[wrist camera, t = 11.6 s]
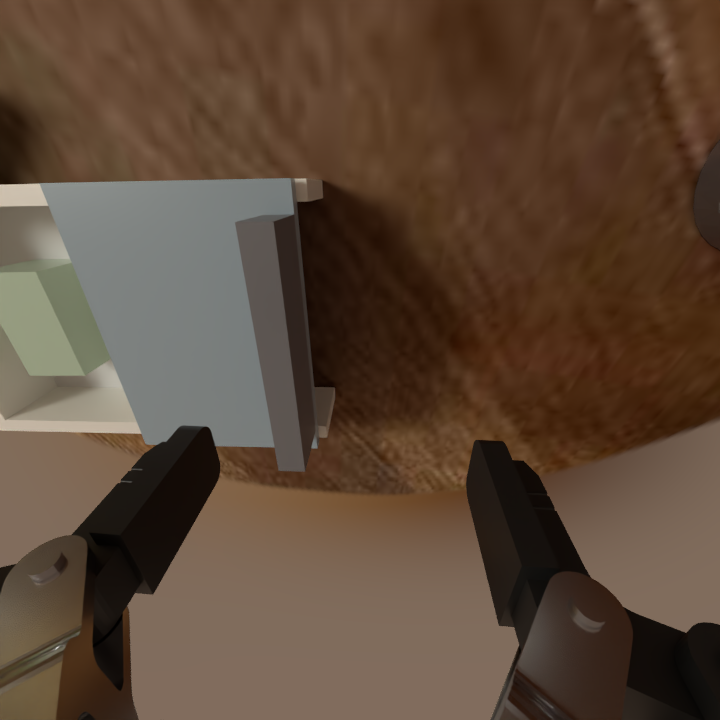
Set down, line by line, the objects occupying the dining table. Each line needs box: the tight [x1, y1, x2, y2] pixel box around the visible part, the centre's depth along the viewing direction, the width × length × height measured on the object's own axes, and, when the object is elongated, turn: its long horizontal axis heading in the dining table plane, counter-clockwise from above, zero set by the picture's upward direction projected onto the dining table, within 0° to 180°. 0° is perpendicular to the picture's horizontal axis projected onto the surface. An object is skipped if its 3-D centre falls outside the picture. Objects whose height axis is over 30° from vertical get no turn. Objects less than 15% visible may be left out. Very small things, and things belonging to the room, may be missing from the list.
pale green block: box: [0, 259, 111, 376], centre depth 23 cm, size 4×7×4 cm, turn 2°
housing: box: [0, 179, 335, 438], centre depth 23 cm, size 24×16×5 cm, turn 91°
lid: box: [39, 178, 319, 471], centre depth 18 cm, size 12×16×4 cm
